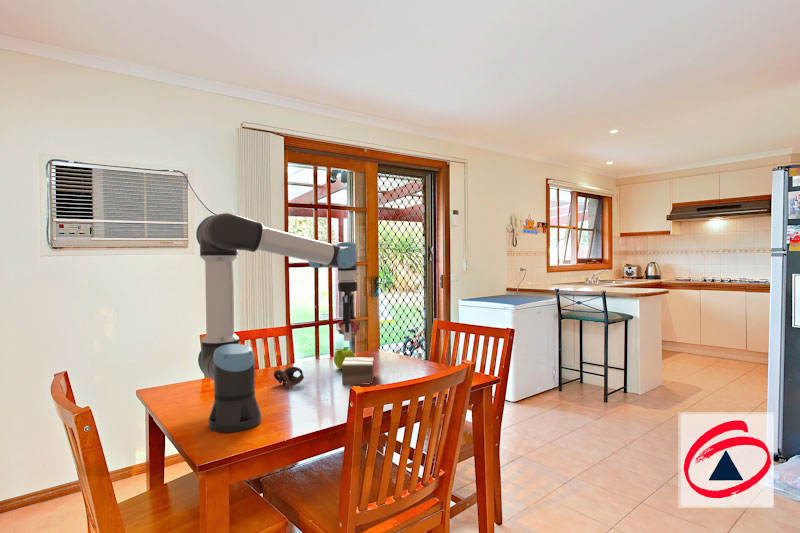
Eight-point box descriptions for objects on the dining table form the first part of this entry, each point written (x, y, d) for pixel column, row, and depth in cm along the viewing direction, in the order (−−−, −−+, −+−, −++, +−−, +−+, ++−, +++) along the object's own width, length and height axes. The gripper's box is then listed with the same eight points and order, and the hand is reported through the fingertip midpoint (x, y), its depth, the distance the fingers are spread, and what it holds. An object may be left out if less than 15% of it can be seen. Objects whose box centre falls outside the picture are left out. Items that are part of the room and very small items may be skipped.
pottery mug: (304, 382, 186) (307, 367, 182) (298, 398, 177) (301, 383, 173) (275, 375, 185) (277, 360, 181) (268, 391, 176) (270, 376, 173)
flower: (364, 336, 175) (363, 317, 179) (341, 333, 171) (341, 314, 176) (355, 346, 182) (355, 328, 186) (333, 343, 178) (333, 325, 183)
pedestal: (372, 384, 180) (372, 364, 179) (342, 384, 180) (342, 364, 179) (374, 376, 192) (373, 357, 191) (345, 376, 192) (345, 357, 191)
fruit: (329, 369, 203) (329, 347, 203) (344, 365, 210) (344, 344, 210) (343, 373, 197) (343, 350, 197) (358, 368, 204) (358, 346, 204)
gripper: (354, 283, 168) (355, 343, 169) (359, 279, 189) (361, 332, 190) (333, 283, 168) (335, 344, 169) (341, 279, 189) (343, 333, 190)
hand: (349, 337), depth 179 cm, fingers closed on flower, 9 cm apart
